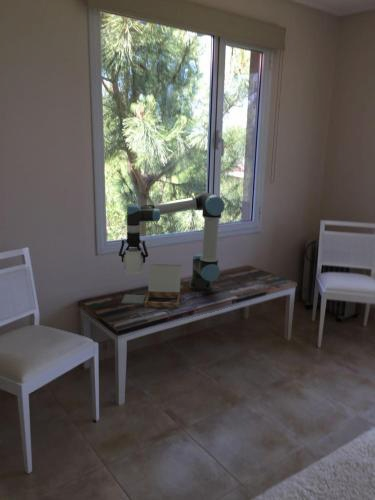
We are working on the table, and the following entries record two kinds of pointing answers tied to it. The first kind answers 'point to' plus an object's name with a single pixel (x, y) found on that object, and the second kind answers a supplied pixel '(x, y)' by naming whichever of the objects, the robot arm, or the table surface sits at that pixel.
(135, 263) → the jar
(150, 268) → the lid
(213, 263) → the robot arm
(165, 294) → the cold frame
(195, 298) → the table surface
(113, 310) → the table surface
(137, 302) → the slate tile
